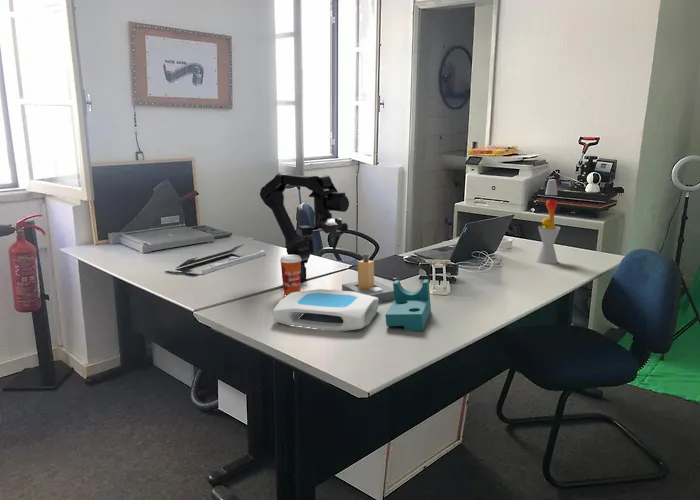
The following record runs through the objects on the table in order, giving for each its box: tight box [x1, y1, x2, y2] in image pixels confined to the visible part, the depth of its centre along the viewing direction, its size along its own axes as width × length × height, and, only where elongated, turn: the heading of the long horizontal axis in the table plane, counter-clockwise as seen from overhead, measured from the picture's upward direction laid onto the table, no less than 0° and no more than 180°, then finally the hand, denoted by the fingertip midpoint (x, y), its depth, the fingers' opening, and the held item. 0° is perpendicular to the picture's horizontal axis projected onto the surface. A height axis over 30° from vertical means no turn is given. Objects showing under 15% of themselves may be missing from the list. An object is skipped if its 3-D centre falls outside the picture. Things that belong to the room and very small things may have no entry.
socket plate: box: [341, 279, 395, 303], centre depth 201 cm, size 13×17×4 cm
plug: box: [357, 253, 375, 290], centre depth 202 cm, size 4×4×14 cm
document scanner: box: [272, 288, 379, 332], centre depth 179 cm, size 21×28×6 cm
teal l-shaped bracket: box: [385, 279, 432, 332], centre depth 176 cm, size 18×11×10 cm, turn 165°
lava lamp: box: [535, 178, 561, 265], centre depth 241 cm, size 9×9×35 cm
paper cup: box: [279, 254, 302, 297], centre depth 202 cm, size 8×8×14 cm
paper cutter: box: [166, 244, 267, 275], centre depth 251 cm, size 18×45×6 cm, turn 148°
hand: (323, 251), depth 212 cm, fingers open, 9 cm apart
